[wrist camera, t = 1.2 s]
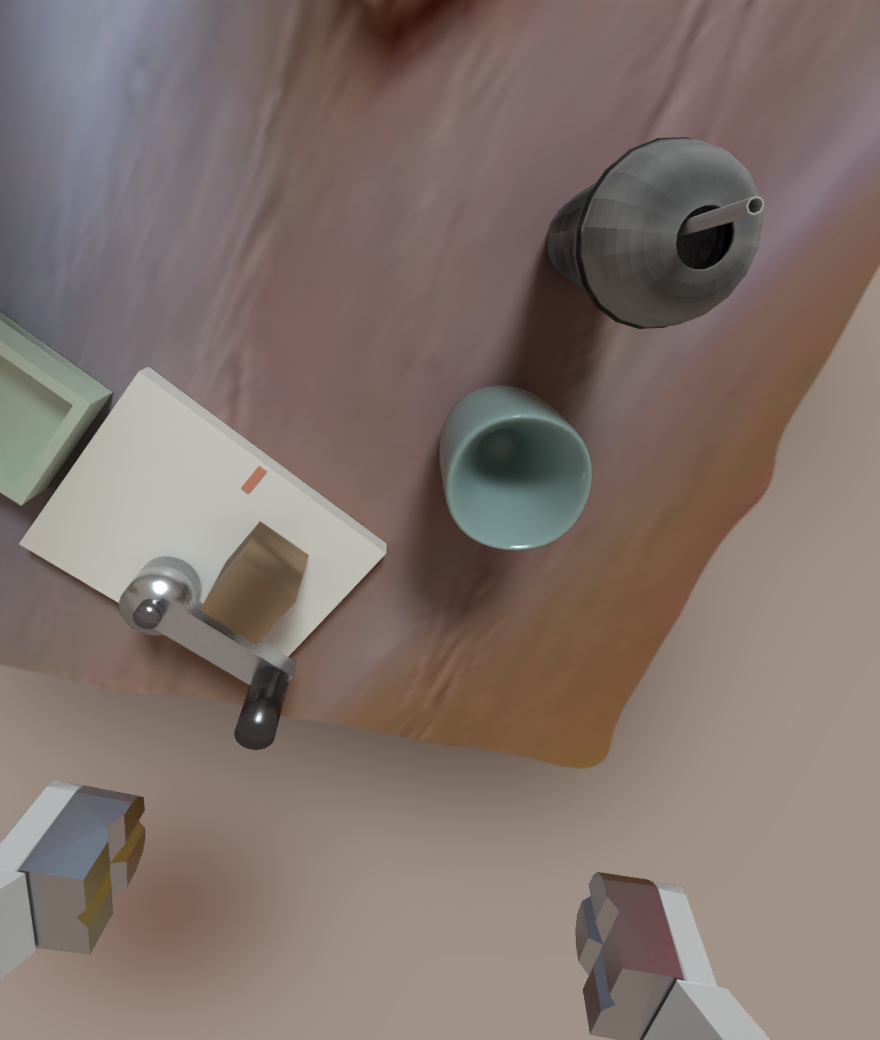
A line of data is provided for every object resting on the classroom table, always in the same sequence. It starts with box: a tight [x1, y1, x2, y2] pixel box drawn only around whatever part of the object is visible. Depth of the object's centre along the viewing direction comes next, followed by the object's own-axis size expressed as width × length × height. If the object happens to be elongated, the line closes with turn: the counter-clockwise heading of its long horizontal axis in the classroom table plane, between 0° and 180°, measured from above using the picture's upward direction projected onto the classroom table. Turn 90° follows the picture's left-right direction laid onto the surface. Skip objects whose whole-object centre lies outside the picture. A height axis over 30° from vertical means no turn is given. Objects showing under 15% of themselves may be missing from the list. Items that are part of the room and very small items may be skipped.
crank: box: [119, 556, 296, 750], centre depth 39 cm, size 12×4×8 cm, turn 48°
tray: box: [0, 312, 113, 506], centre depth 36 cm, size 8×8×3 cm
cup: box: [439, 385, 592, 550], centre depth 36 cm, size 8×8×10 cm
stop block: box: [200, 521, 309, 645], centre depth 39 cm, size 4×4×6 cm
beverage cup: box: [547, 137, 764, 329], centre depth 26 cm, size 7×7×20 cm
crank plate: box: [19, 367, 386, 657], centre depth 41 cm, size 19×15×2 cm
